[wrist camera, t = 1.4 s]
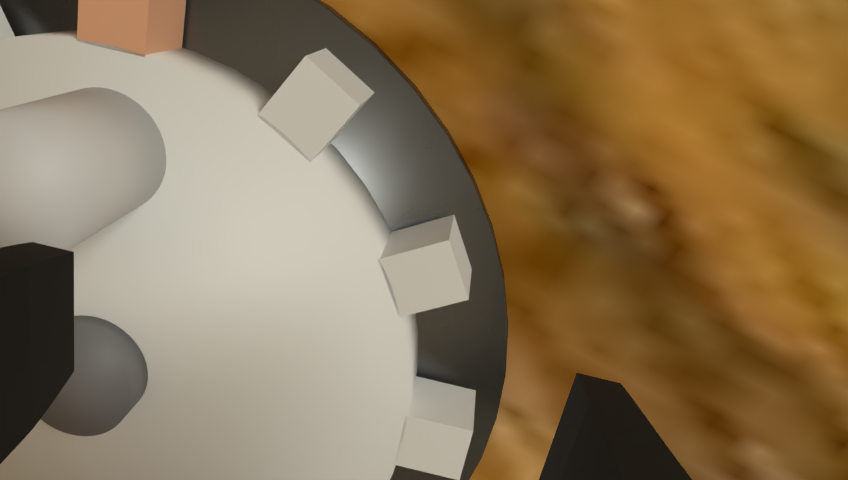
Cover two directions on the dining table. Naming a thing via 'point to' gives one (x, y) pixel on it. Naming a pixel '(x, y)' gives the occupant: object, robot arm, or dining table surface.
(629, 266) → the dining table surface
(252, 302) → the sprocket wheel
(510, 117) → the dining table surface
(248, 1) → the wheel base
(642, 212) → the dining table surface
